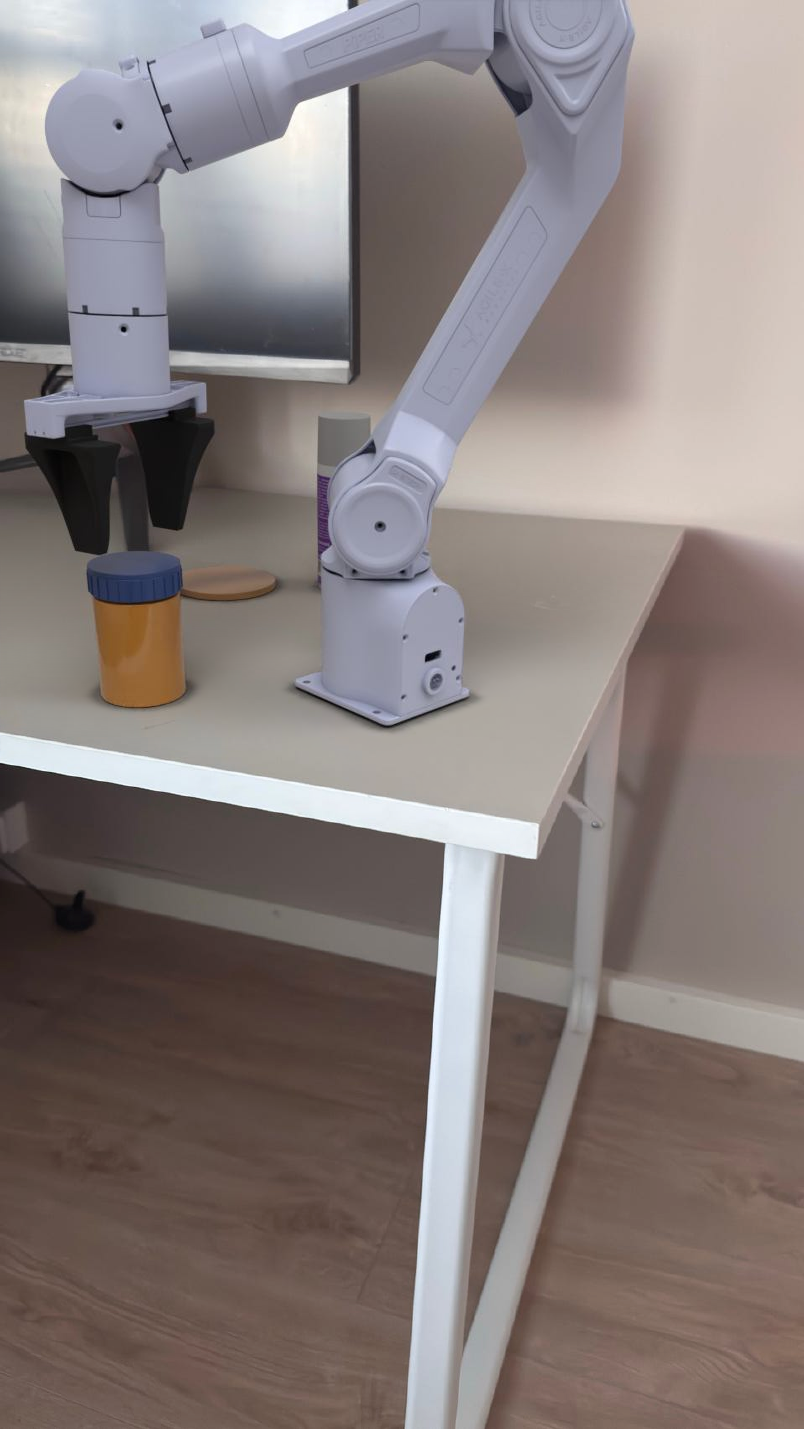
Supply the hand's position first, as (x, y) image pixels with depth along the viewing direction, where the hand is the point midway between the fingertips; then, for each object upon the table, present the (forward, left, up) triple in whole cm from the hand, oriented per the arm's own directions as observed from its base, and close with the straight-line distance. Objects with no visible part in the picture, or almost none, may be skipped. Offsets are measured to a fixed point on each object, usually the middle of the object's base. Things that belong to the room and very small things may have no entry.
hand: (131, 539), depth 69 cm
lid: (0, 0, -2) cm, 2 cm away
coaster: (+17, -19, -11) cm, 27 cm away
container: (+10, -27, -11) cm, 31 cm away
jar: (0, 0, -11) cm, 11 cm away
